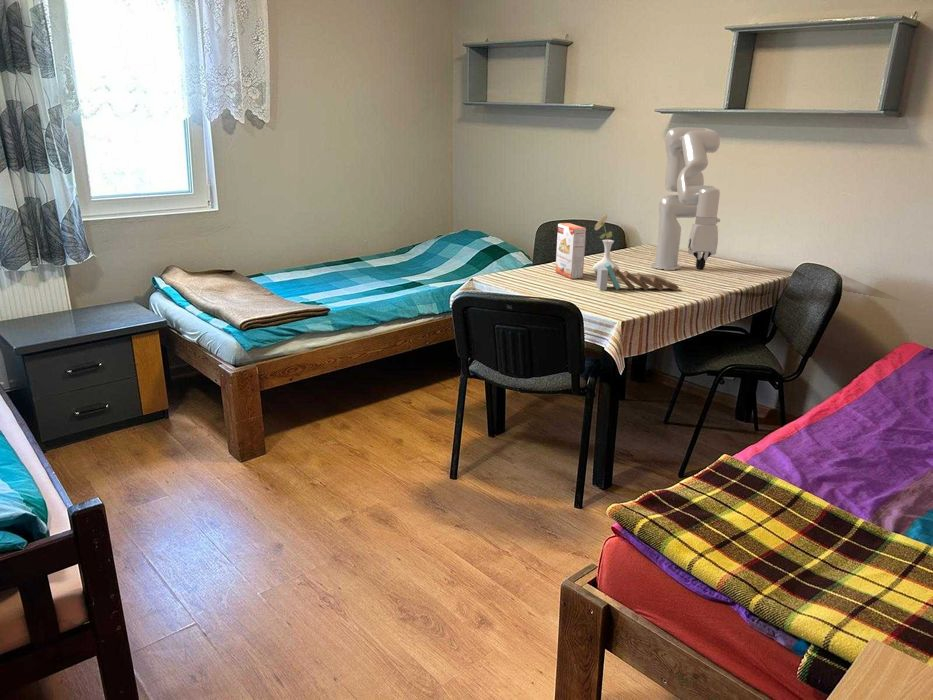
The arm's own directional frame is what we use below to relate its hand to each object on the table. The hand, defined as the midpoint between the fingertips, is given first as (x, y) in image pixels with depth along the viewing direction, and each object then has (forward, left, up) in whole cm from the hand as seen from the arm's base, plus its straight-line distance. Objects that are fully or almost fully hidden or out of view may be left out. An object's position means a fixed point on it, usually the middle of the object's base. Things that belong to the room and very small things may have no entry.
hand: (699, 269), depth 275 cm
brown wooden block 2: (0, -8, -7) cm, 11 cm away
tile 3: (0, -20, -7) cm, 21 cm away
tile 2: (0, -14, -7) cm, 16 cm away
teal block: (0, -31, -8) cm, 32 cm away
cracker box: (-22, -47, -8) cm, 53 cm away
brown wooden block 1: (0, -26, -8) cm, 27 cm away
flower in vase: (-28, -31, -8) cm, 43 cm away
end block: (0, -37, -8) cm, 38 cm away
